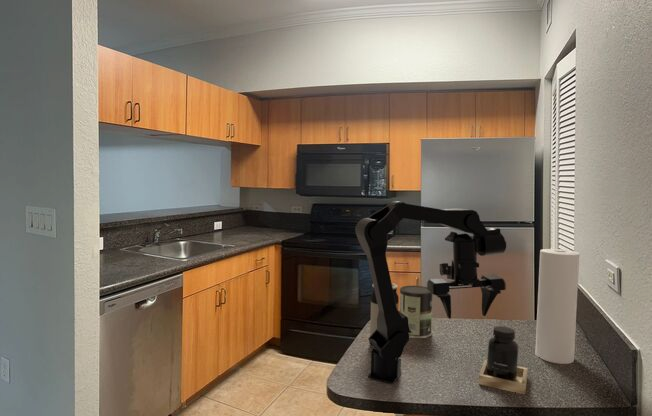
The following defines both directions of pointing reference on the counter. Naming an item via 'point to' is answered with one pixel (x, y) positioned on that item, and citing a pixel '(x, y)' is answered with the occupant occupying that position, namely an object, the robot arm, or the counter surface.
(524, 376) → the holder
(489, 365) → the supplement bottle
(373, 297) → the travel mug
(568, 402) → the counter surface
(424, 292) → the coffee can
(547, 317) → the paper towel roll
